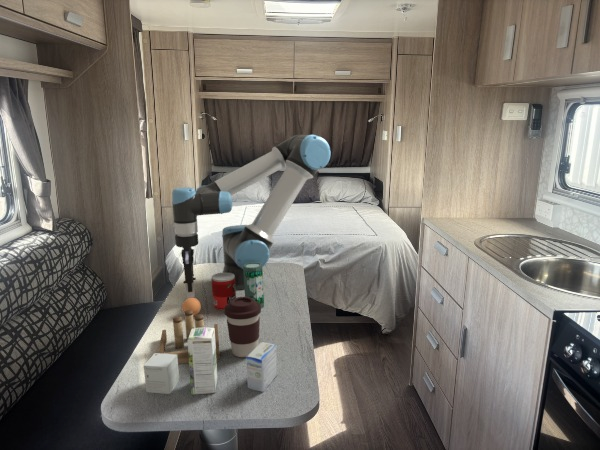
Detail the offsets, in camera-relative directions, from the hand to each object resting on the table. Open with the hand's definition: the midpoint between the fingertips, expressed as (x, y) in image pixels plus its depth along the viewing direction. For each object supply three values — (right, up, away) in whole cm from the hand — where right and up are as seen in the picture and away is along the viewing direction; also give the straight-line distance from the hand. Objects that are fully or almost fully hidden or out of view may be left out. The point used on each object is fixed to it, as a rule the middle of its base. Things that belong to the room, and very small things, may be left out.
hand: (190, 299), depth 157 cm
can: (+22, -2, -2) cm, 23 cm away
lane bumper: (+7, -9, -29) cm, 31 cm away
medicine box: (+29, -13, -46) cm, 56 cm away
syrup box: (+15, -14, -48) cm, 52 cm away
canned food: (+12, -2, -1) cm, 12 cm away
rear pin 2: (+10, -9, -27) cm, 30 cm away
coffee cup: (+23, -9, -31) cm, 40 cm away
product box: (+5, -14, -47) cm, 49 cm away
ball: (+2, -1, -8) cm, 9 cm away
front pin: (+6, -8, -24) cm, 26 cm away
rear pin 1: (+4, -9, -28) cm, 30 cm away
